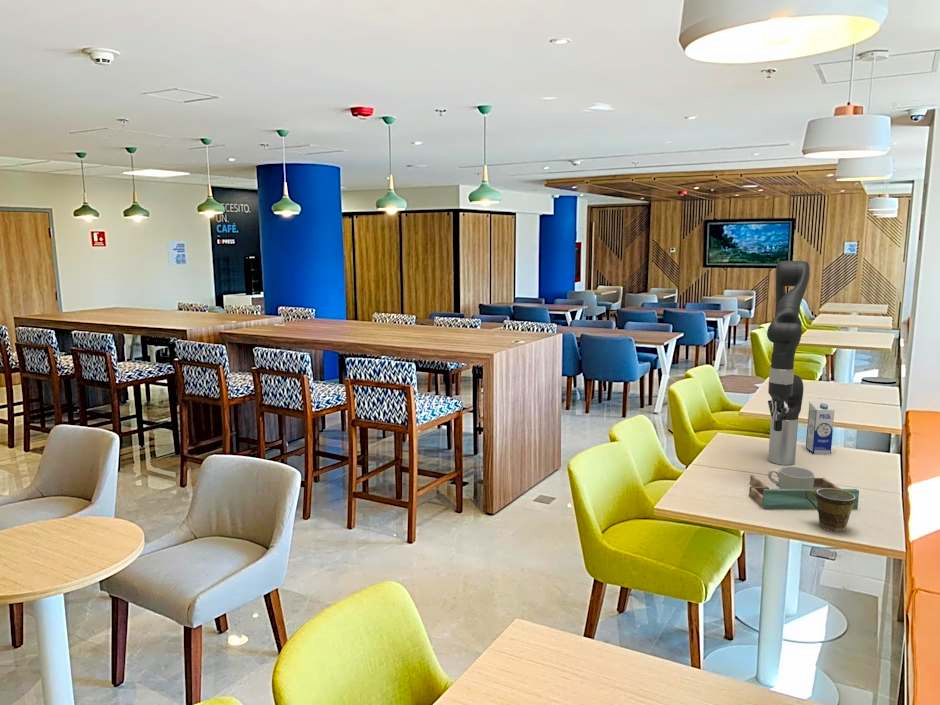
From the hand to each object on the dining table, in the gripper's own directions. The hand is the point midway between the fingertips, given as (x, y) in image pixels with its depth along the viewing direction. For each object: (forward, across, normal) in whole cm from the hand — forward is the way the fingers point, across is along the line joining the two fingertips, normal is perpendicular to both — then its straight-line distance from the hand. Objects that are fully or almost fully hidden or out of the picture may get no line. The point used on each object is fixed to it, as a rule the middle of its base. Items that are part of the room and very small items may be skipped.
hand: (777, 430), depth 235 cm
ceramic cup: (+18, +38, -2) cm, 43 cm away
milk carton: (+18, -34, +32) cm, 50 cm away
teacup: (+18, +12, 0) cm, 22 cm away
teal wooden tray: (+18, +14, 0) cm, 23 cm away
